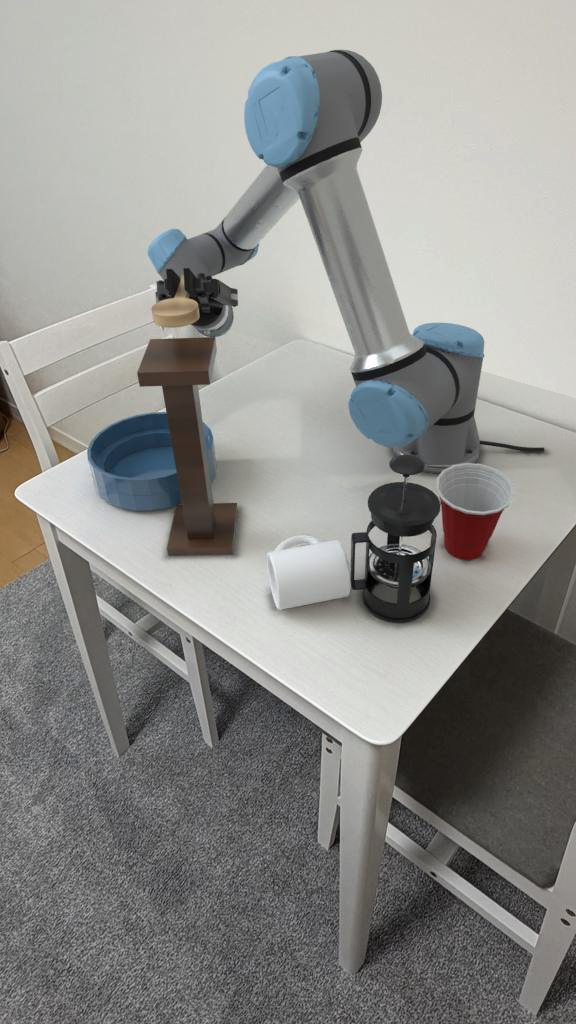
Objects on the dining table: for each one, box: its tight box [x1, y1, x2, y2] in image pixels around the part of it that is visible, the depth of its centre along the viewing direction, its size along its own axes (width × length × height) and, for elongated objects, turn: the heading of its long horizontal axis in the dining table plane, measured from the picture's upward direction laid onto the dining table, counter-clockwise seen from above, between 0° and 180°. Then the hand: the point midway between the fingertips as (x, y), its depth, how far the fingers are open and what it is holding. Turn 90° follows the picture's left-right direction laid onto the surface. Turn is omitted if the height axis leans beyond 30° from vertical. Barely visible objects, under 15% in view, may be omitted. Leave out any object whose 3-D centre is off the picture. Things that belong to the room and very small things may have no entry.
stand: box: [136, 336, 239, 557], centre depth 99 cm, size 11×10×30 cm
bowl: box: [86, 411, 218, 512], centre depth 119 cm, size 21×21×7 cm
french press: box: [349, 455, 441, 624], centre depth 88 cm, size 12×9×23 cm
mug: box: [266, 534, 352, 611], centre depth 96 cm, size 12×10×8 cm
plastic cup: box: [435, 463, 516, 561], centre depth 99 cm, size 11×11×12 cm
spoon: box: [150, 275, 200, 329], centre depth 92 cm, size 16×6×2 cm, turn 0°
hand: (178, 279), depth 91 cm, fingers closed on spoon, 2 cm apart
